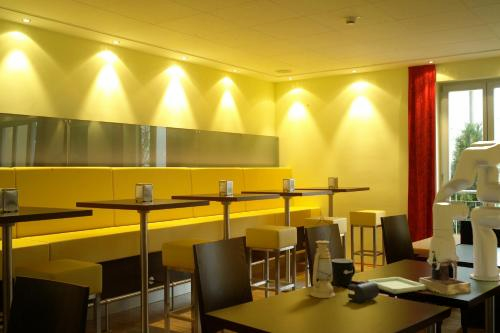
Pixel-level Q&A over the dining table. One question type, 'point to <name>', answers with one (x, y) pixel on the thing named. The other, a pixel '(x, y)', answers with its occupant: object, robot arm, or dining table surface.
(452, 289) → the tray
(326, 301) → the dining table surface
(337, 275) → the mug
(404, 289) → the tray
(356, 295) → the end cap
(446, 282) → the mug
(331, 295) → the lantern
